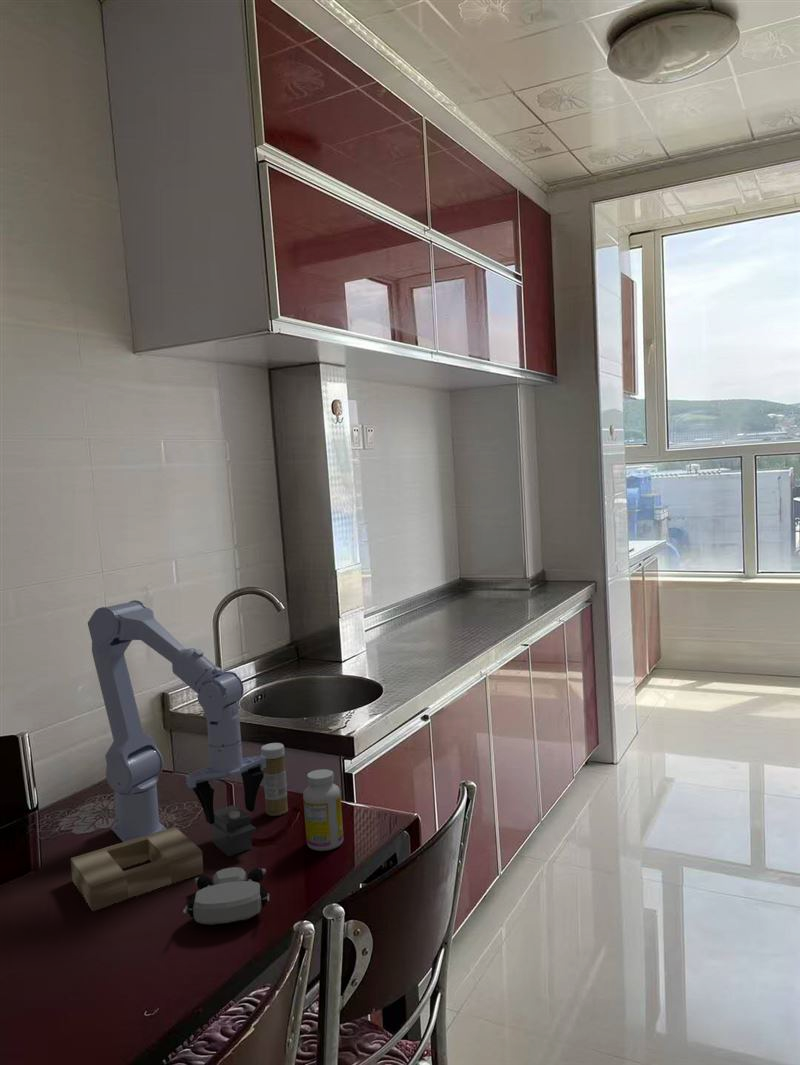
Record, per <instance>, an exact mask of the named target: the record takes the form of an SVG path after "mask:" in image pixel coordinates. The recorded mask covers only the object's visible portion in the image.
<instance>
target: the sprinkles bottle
mask: <svg viewBox="0 0 800 1065" xmlns="http://www.w3.org/2000/svg"><path fill="white" fill-rule="evenodd" d="M285 753H286V752H285V746H284V744H283V743H281V742H271V743H267V744H263V745H262V746H261V747H260V755H262V756H264V757H266V768H262V769H263V770H262V771H263V772H264V778H263V779H262V780H263V788H264V789H263V790H264V800H265V801H264V802H265V814H266V815H268V816H270V817H276V816H282V814H283V815H285V814H286V813H287V812H288V811H289V807H288V791H287V790H288V789H287V788H288V787H287V775H286V774H287V773H286V766H285V765H286V764H285Z"/></svg>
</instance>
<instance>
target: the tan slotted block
mask: <svg viewBox="0 0 800 1065" xmlns="http://www.w3.org/2000/svg"><path fill="white" fill-rule="evenodd" d="M147 860H150V861H151V862H150V861H149V863H146V862H145V861H147ZM203 860H204V859H203V850H201V848H200V847H199V846H197V845H196V844H195V843H194V842H193V841H192V840H191V839H190V838H189V837H187V835H185V834H184V833H183V832H182V831H181V830H180V829H179V828H177V827H176V826H172V827H169V828H166V829H165V830H162V831H159V832H155V833H152V834H149V835H145V836H142V837H139V838H135V839H132V840H129V841H126V842H123V841H122V842H120V843H116V844H113V845H110V846H107V847H106V846H105V847H103V848H100V849H96V850H93V851H90V852H86V853H83V854H80V855H77V856H73V857H70V867H71V870H70V871H71V880H72V882H73V884H74V885H75V887H76V886H77V887H76V888H77V890H78V889H79V890H78V891H79V893H80V892H81V893H80V894H82V895H83V896H82V895H81V896H82V897H84V898H85V899H84V898H83V899H84V900H86V901H85V903H86V904H87V903H88V904H87V906H89V908H90V910H91V911H92V912H96V911H98V910H101V909H104V908H107V907H110V906H113V905H115V904H114V903H116V904H119V903H121V901H122V902H124V901H123V900H125V901H127V900H126V899H128V898H131V897H133V896H136V897H138V896H137V895H139V896H141V895H140V894H142V893H145V894H147V893H146V892H148V893H151V892H153V891H152V890H154V891H156V890H155V889H157V888H160V887H163V886H165V885H168V886H170V885H169V884H171V885H173V884H172V883H174V884H177V883H180V882H183V881H186V880H189V879H190V878H191V877H192V878H193V877H194V878H195V877H197V876H200V875H204V862H203ZM142 862H143V863H145V864H143V863H142ZM147 862H148V861H147ZM138 863H140V864H142V865H139V864H138ZM135 864H137V865H139V866H136V865H135ZM132 865H134V866H136V867H133V866H132ZM130 866H131V868H130ZM127 867H128V868H130V869H127ZM132 867H133V868H132ZM124 868H125V869H127V870H125V869H124ZM192 878H191V879H192ZM185 879H186V880H185ZM176 882H177V883H176ZM165 887H166V886H165ZM163 888H164V887H163ZM160 889H161V888H160ZM157 890H158V889H157ZM150 891H151V892H150ZM142 895H143V894H142ZM131 899H132V898H131ZM128 900H129V899H128ZM118 902H119V903H118ZM112 904H113V905H112Z"/></svg>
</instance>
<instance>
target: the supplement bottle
mask: <svg viewBox="0 0 800 1065" xmlns="http://www.w3.org/2000/svg"><path fill="white" fill-rule="evenodd" d="M334 776H335V775H334V771H332V770H330V769H326V768H325V769H315V770H311V771H310V772H308V773H307V778H306V779H307V780H306V781H307V784H308V786H307V787H306V788H305V789H304V791H303V793H302V800H303V812H304V824H305V839H306V844H307V847H308V848H309V849H310V850H313V851H319V852H325V851H330V850H334V849H337V848H338V847H340V846H341V845H342V844H343V842H344V827H343V826H344V824H343V814H342V798H341V797H342V796H341V790H340V787H339V786H338V785H336V784H335V783H334V779H335V777H334Z"/></svg>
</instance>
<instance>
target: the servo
mask: <svg viewBox="0 0 800 1065" xmlns="http://www.w3.org/2000/svg"><path fill="white" fill-rule="evenodd" d="M256 832H257V827H255V826H254V825H252V824H251V816H250V815H249V814H248V813H246V812H245V811H243V810H242V809H240V808H238V806H236V805H235V804H232V805H228V806H226V807H222V808H219V809H214V824H211V833H212V835H211V836H212V844H213V843H214V844H215V845H216V846H215V845H214V844H213V845H214V846H215V847H217V848H218V849H219V848H220V849H221V850H222V851H223V852H222V851H221V850H220V849H219V850H220V851H221V852H222V853H223V854H225V855H226V856H227V857H228V856H229V857H232V856H235V855H238V854H241V853H243V852H242V851H244V852H246V851H245V850H247V851H250V850H252V849H253V844H252V834H253V833H256ZM251 848H252V849H251ZM249 849H250V850H249ZM240 852H241V853H240ZM237 853H238V854H237ZM234 854H235V855H234ZM231 855H232V856H231Z"/></svg>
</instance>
